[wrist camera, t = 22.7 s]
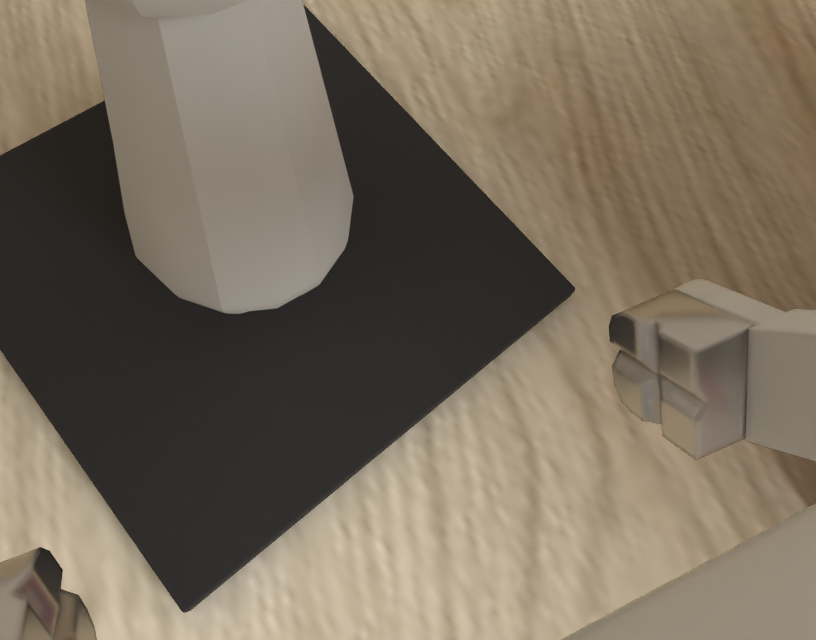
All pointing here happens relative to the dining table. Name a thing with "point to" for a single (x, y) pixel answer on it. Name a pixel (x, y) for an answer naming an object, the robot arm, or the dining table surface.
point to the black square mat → (254, 333)
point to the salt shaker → (223, 147)
